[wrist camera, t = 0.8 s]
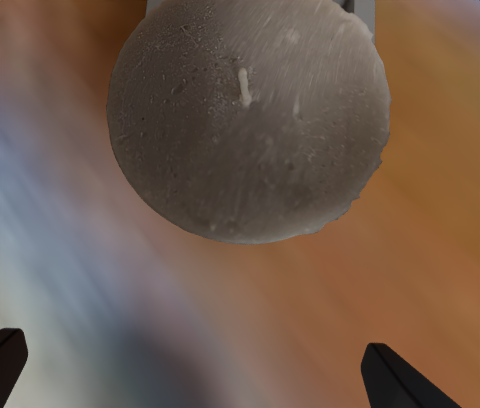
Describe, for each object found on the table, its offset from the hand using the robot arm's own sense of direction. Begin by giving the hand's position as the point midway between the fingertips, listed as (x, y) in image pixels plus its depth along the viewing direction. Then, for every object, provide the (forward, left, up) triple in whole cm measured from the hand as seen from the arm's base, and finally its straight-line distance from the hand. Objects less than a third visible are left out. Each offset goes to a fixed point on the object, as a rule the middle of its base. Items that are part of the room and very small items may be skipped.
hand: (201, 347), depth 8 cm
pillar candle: (+8, -1, -15) cm, 17 cm away
